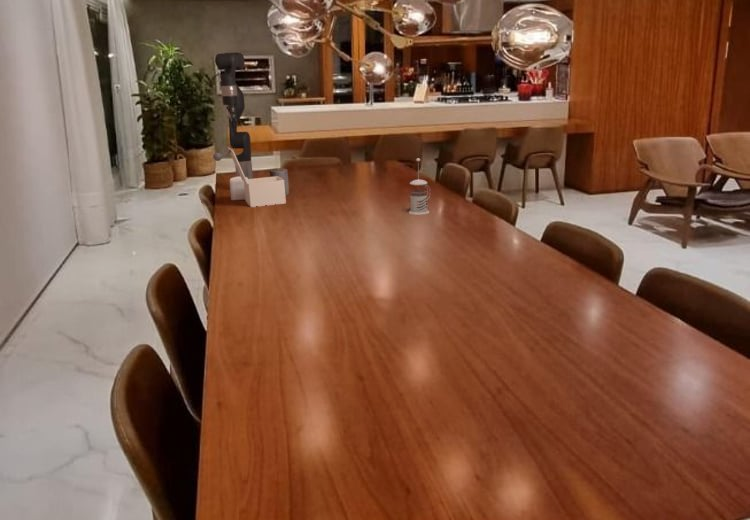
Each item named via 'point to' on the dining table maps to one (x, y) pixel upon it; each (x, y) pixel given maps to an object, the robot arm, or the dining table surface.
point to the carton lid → (218, 157)
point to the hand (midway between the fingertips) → (232, 127)
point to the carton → (265, 191)
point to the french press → (421, 199)
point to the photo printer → (237, 188)
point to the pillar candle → (282, 174)
